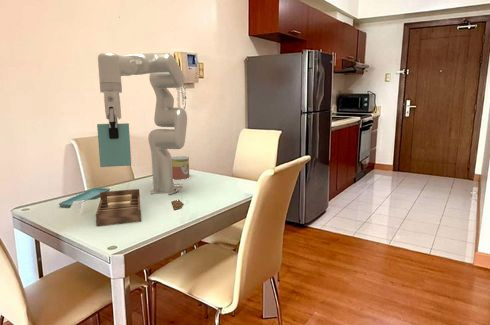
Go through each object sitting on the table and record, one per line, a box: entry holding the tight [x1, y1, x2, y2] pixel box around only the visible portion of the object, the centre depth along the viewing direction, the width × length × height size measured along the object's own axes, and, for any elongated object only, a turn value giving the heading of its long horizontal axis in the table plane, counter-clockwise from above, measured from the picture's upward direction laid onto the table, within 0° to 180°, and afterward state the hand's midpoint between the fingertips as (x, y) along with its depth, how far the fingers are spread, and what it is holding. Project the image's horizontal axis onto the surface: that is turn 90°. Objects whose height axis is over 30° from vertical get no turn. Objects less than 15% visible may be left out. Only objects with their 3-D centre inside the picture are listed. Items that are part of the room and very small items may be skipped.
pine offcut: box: [108, 201, 131, 208], centre depth 133 cm, size 8×2×6 cm, turn 108°
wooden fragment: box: [170, 199, 184, 211], centre depth 148 cm, size 26×11×1 cm, turn 166°
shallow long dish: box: [58, 187, 111, 209], centre depth 162 cm, size 26×9×2 cm, turn 170°
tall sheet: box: [96, 123, 132, 168], centre depth 131 cm, size 11×2×16 cm, turn 107°
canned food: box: [171, 155, 190, 181], centre depth 204 cm, size 11×11×12 cm
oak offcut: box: [107, 194, 132, 205], centre depth 136 cm, size 9×2×7 cm, turn 108°
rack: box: [95, 188, 142, 227], centre depth 134 cm, size 15×20×9 cm
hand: (114, 137), depth 130 cm, fingers closed on tall sheet, 2 cm apart
